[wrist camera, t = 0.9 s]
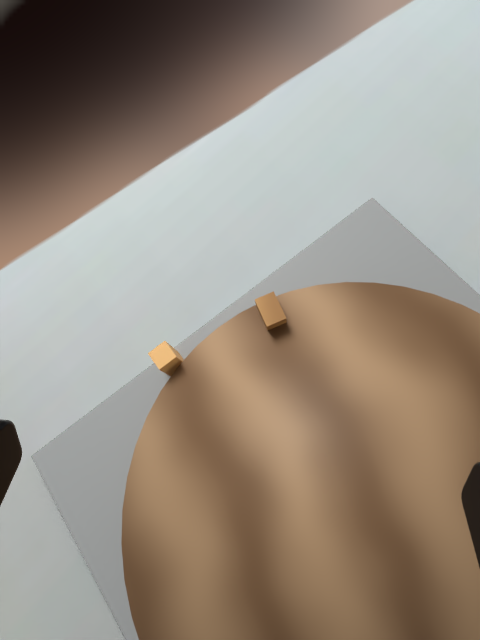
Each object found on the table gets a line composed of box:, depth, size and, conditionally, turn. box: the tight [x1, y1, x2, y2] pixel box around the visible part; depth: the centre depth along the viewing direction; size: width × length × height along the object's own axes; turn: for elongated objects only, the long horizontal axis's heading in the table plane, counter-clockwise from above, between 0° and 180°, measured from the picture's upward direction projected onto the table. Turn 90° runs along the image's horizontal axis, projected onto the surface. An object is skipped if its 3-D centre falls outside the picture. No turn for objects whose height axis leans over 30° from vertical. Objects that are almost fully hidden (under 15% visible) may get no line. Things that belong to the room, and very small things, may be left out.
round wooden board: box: [121, 282, 480, 640], centre depth 19 cm, size 25×25×5 cm
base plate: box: [31, 198, 480, 640], centre depth 21 cm, size 28×28×4 cm
